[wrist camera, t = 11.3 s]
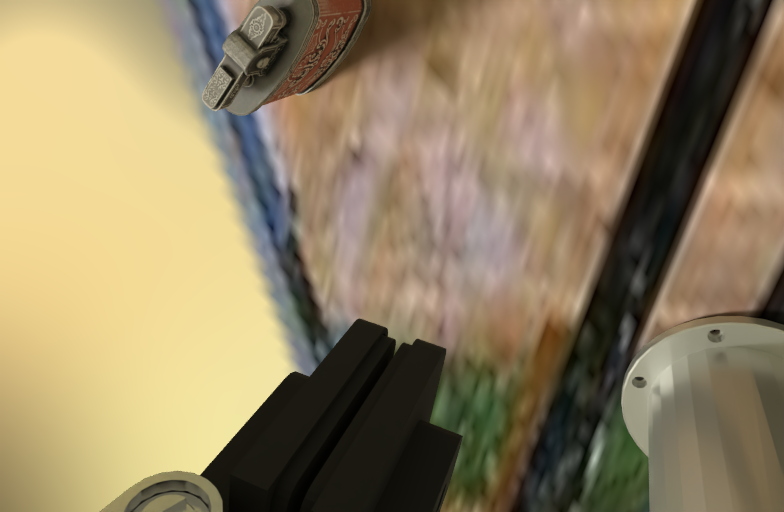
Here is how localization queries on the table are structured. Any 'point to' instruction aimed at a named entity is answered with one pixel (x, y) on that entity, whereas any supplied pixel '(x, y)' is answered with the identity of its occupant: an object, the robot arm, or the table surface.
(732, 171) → the table surface
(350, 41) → the lighter
